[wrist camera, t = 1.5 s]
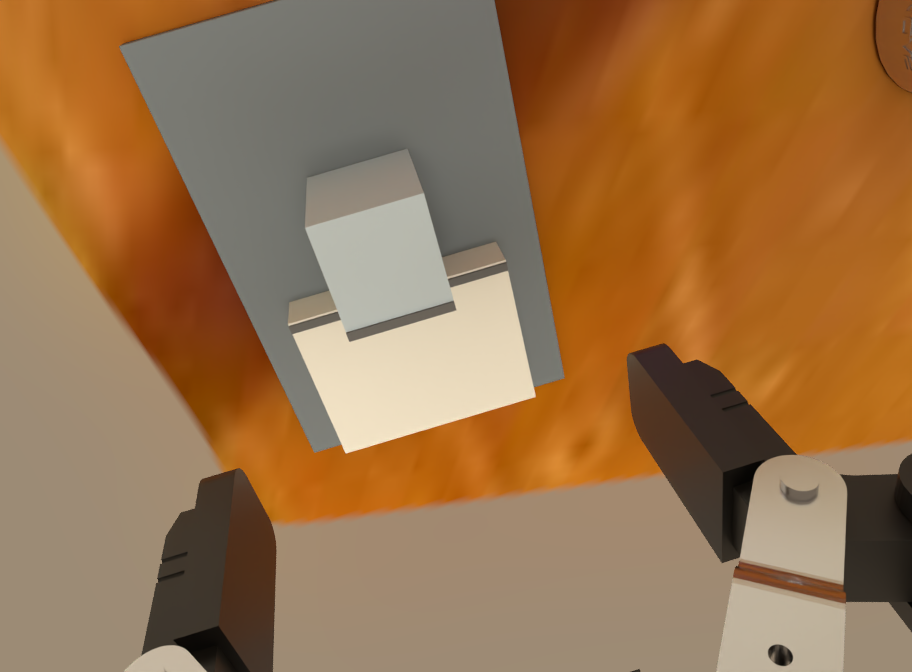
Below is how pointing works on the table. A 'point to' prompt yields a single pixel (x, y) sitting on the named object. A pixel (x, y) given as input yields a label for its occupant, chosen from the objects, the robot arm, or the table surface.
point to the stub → (377, 245)
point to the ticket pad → (349, 142)
